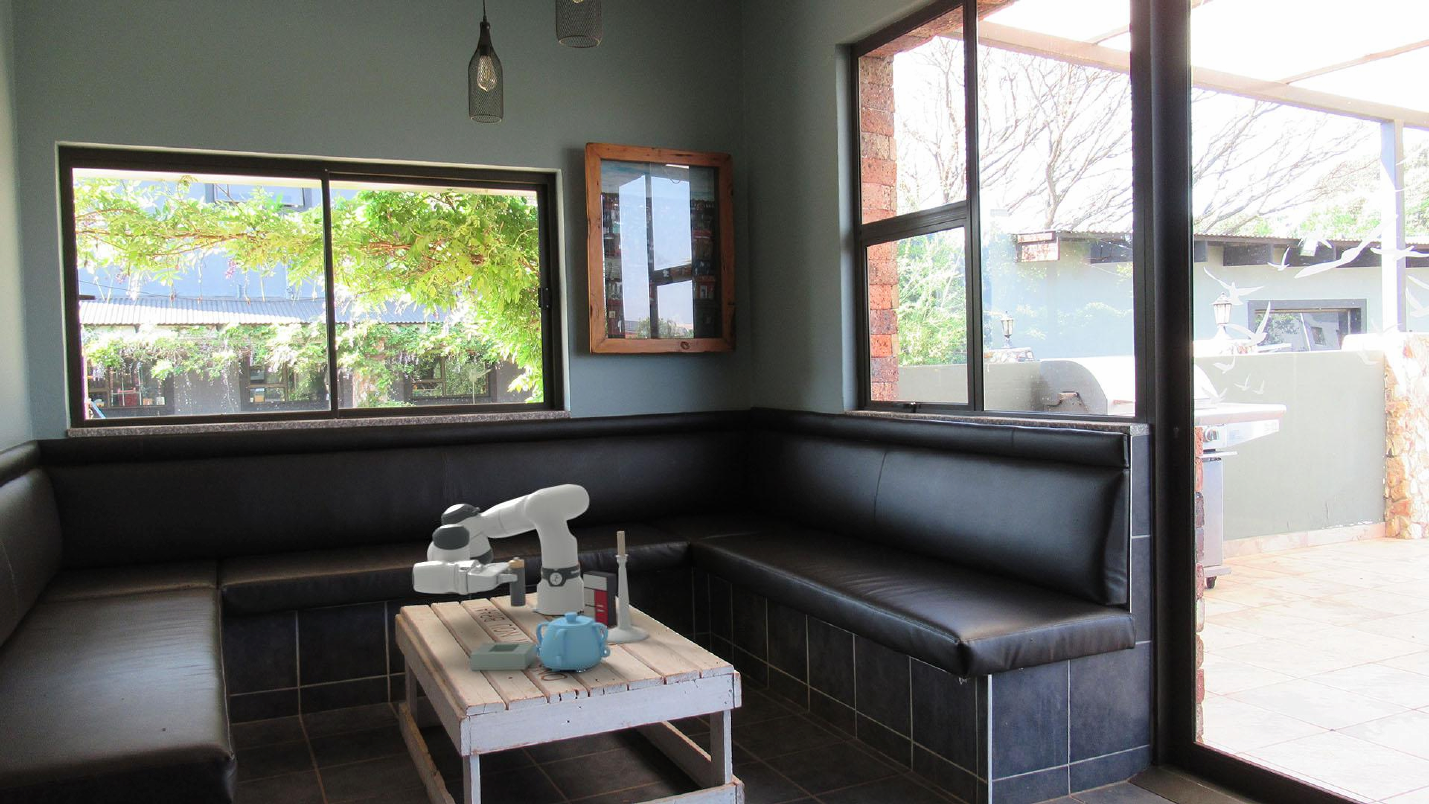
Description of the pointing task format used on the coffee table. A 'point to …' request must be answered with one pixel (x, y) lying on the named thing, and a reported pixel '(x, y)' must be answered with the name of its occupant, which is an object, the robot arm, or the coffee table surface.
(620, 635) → the candlestick
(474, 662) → the block
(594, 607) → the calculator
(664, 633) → the coffee table surface
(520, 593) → the battery cell
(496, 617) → the coffee table surface
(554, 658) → the decorative pot
